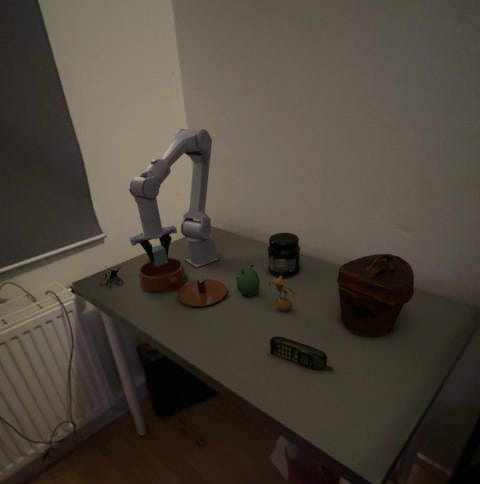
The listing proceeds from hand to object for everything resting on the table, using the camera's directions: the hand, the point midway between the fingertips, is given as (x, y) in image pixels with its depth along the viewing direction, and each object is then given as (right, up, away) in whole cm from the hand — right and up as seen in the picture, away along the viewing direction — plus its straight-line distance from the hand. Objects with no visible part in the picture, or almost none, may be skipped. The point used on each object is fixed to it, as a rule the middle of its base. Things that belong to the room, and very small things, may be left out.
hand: (159, 259), depth 111 cm
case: (+60, -19, -19) cm, 65 cm away
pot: (0, -7, +7) cm, 9 cm away
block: (0, -1, +1) cm, 1 cm away
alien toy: (+28, -11, -3) cm, 31 cm away
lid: (+14, -11, -2) cm, 18 cm away
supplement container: (+41, -3, +8) cm, 42 cm away
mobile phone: (+40, -27, -29) cm, 57 cm away
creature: (-18, -7, +8) cm, 21 cm away
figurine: (+38, -16, -12) cm, 43 cm away
